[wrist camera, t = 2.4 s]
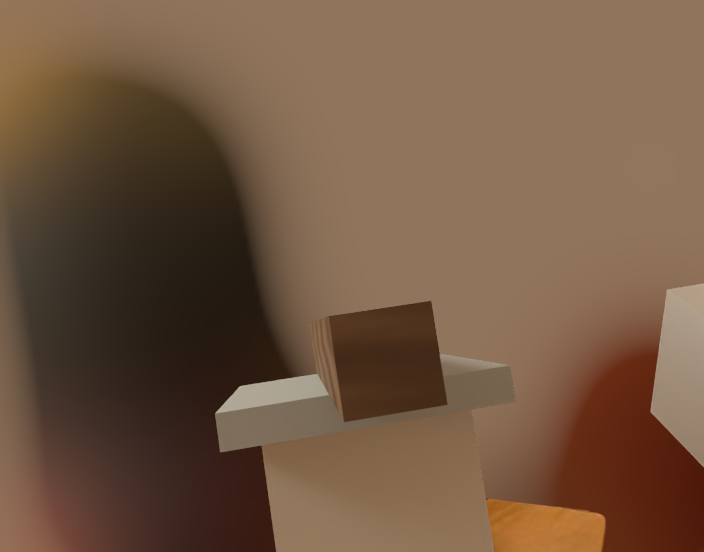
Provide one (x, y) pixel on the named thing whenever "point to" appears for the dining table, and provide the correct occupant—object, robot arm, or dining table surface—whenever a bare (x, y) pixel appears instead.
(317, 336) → the walnut block
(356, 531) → the stand
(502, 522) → the dining table surface
